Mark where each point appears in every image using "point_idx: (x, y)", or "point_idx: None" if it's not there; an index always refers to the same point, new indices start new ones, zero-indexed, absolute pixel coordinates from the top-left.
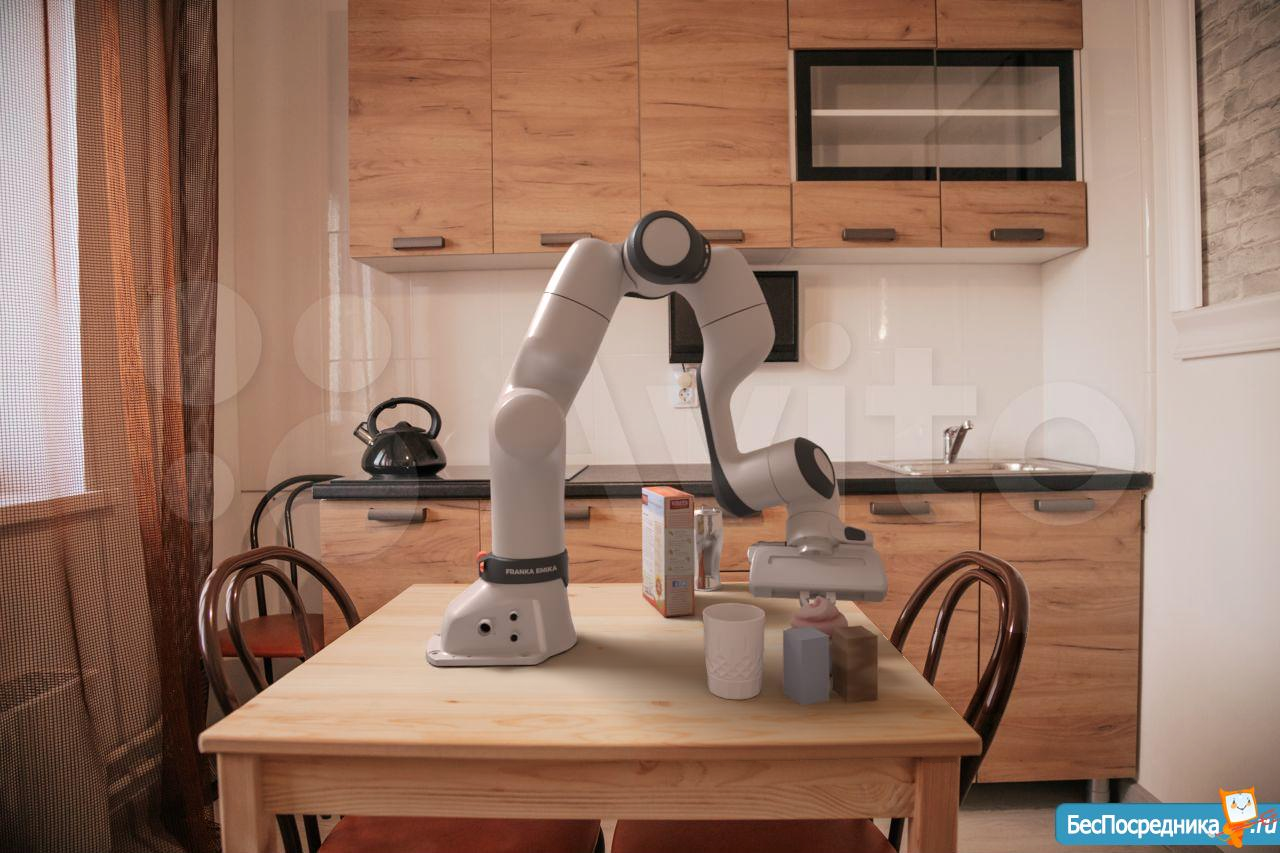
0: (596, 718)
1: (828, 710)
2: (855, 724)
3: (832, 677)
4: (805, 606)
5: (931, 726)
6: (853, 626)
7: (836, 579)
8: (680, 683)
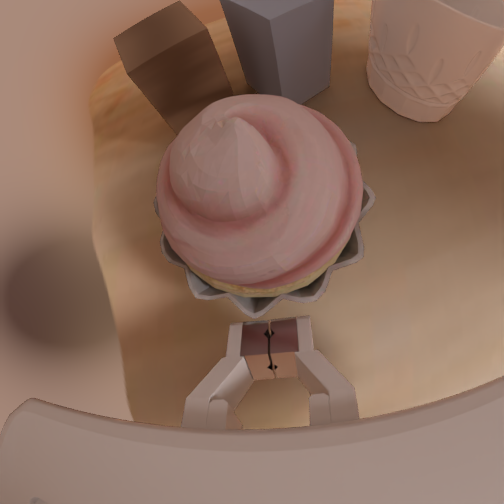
0: None
1: None
2: None
3: None
4: (310, 153)
5: (121, 75)
6: (147, 59)
7: (153, 473)
8: (483, 98)
